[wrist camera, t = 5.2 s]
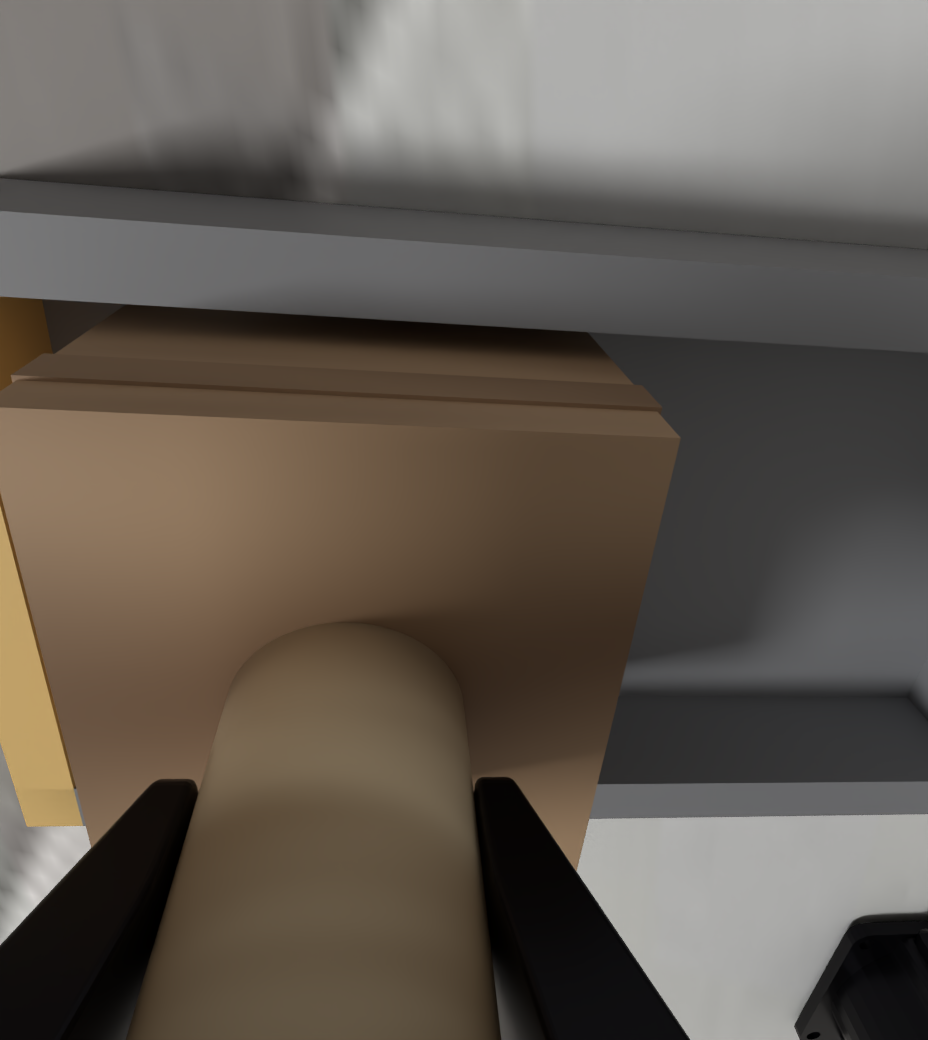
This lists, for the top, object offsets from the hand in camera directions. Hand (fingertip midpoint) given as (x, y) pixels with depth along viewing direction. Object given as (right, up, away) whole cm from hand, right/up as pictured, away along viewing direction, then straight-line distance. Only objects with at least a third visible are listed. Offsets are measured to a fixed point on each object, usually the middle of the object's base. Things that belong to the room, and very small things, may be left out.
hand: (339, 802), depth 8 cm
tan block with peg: (0, +3, +6) cm, 6 cm away
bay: (+3, +4, +7) cm, 8 cm away
